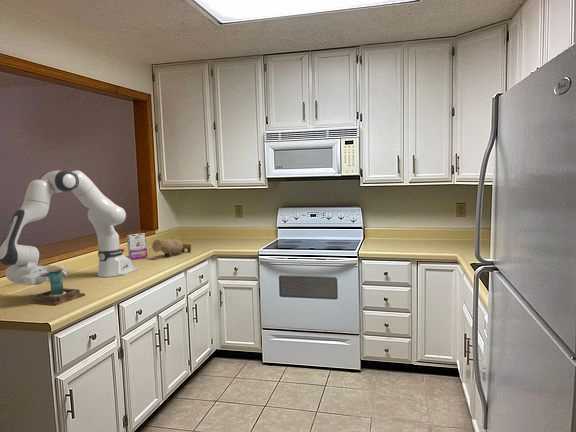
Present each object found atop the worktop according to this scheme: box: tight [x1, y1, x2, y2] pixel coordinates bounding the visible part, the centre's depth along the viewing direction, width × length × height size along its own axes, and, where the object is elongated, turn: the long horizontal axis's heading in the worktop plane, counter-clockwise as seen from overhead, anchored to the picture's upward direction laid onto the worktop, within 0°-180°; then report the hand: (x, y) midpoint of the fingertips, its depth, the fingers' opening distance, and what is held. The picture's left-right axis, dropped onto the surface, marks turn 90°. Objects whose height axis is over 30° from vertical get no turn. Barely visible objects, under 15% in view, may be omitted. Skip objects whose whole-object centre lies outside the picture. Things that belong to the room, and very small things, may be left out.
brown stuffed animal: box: [151, 238, 192, 258], centre depth 304 cm, size 10×12×30 cm
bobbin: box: [46, 264, 66, 296], centre depth 205 cm, size 7×7×14 cm
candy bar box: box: [126, 232, 148, 261], centre depth 300 cm, size 11×5×16 cm, turn 126°
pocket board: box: [29, 287, 85, 306], centre depth 206 cm, size 16×16×3 cm
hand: (57, 276), depth 205 cm, fingers open, 8 cm apart
